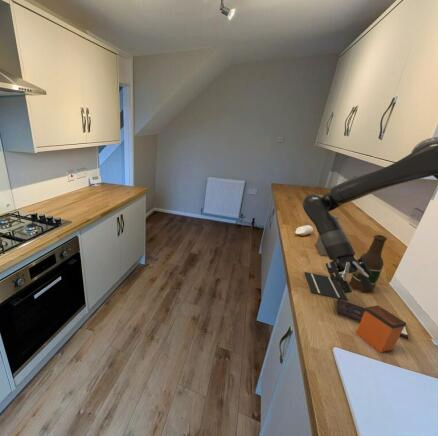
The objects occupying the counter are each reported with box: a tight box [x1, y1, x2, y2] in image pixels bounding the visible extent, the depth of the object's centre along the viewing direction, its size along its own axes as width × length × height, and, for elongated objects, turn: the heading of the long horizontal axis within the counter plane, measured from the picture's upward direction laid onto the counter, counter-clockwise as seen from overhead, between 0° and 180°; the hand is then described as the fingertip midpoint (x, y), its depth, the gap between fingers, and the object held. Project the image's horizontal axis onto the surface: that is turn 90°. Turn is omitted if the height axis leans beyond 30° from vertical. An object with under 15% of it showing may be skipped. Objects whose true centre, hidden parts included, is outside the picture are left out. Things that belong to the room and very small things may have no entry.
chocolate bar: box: [336, 299, 409, 340], centre depth 84 cm, size 9×1×18 cm
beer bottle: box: [349, 234, 388, 294], centre depth 96 cm, size 8×8×24 cm
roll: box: [294, 224, 314, 237], centre depth 150 cm, size 6×12×6 cm, turn 116°
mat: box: [304, 271, 349, 302], centre depth 101 cm, size 12×16×1 cm
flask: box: [315, 215, 341, 257], centre depth 128 cm, size 15×6×20 cm, turn 154°
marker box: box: [355, 304, 407, 353], centre depth 73 cm, size 5×8×10 cm, turn 12°
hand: (359, 291), depth 78 cm, fingers open, 8 cm apart
